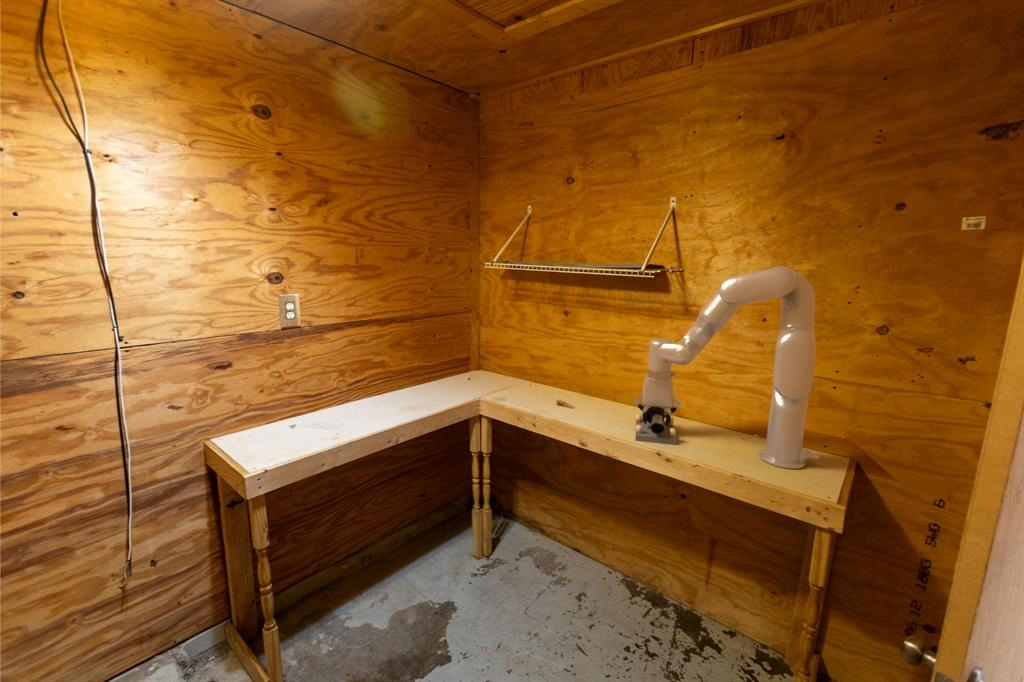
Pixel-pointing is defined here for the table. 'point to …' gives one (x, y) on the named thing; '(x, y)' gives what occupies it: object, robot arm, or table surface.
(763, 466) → the table surface
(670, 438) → the pipe stand
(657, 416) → the dark elongated piece
